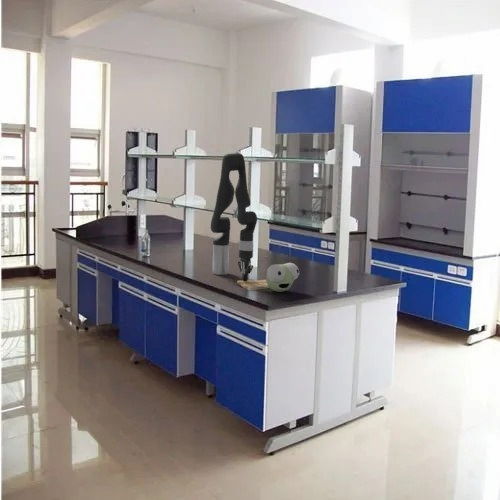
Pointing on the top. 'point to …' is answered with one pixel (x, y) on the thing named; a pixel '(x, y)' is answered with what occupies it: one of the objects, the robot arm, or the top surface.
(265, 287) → the laid strip
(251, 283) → the plank near
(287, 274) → the toy
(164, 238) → the top surface
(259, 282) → the plank far
